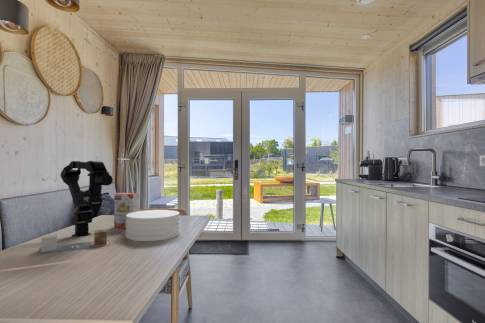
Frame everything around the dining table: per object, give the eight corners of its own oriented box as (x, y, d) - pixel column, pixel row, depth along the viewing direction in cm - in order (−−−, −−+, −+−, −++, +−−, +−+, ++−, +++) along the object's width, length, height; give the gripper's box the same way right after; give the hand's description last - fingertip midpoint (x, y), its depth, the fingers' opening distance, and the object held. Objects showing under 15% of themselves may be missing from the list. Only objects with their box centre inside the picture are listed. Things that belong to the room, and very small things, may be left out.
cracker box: (113, 227, 167) (113, 193, 167) (120, 225, 172) (120, 192, 173) (132, 229, 163) (133, 194, 163) (139, 227, 168) (139, 193, 169)
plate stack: (114, 237, 145) (114, 215, 145) (153, 227, 169) (154, 208, 170) (152, 244, 132) (152, 220, 132) (189, 232, 156) (189, 212, 157)
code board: (35, 256, 112) (35, 254, 112) (40, 248, 123) (40, 247, 123) (110, 247, 126) (110, 245, 126) (109, 240, 136) (109, 239, 136)
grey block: (41, 252, 116) (41, 237, 116) (42, 249, 120) (43, 235, 121) (55, 250, 118) (55, 236, 119) (56, 247, 123) (56, 234, 123)
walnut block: (94, 245, 126) (94, 232, 126) (94, 243, 130) (94, 230, 130) (106, 244, 128) (106, 231, 128) (106, 241, 133) (106, 229, 133)
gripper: (78, 184, 147) (77, 213, 146) (76, 186, 130) (76, 219, 130) (101, 183, 152) (101, 211, 152) (102, 185, 136) (102, 217, 135)
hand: (95, 214), depth 142 cm, fingers open, 9 cm apart
